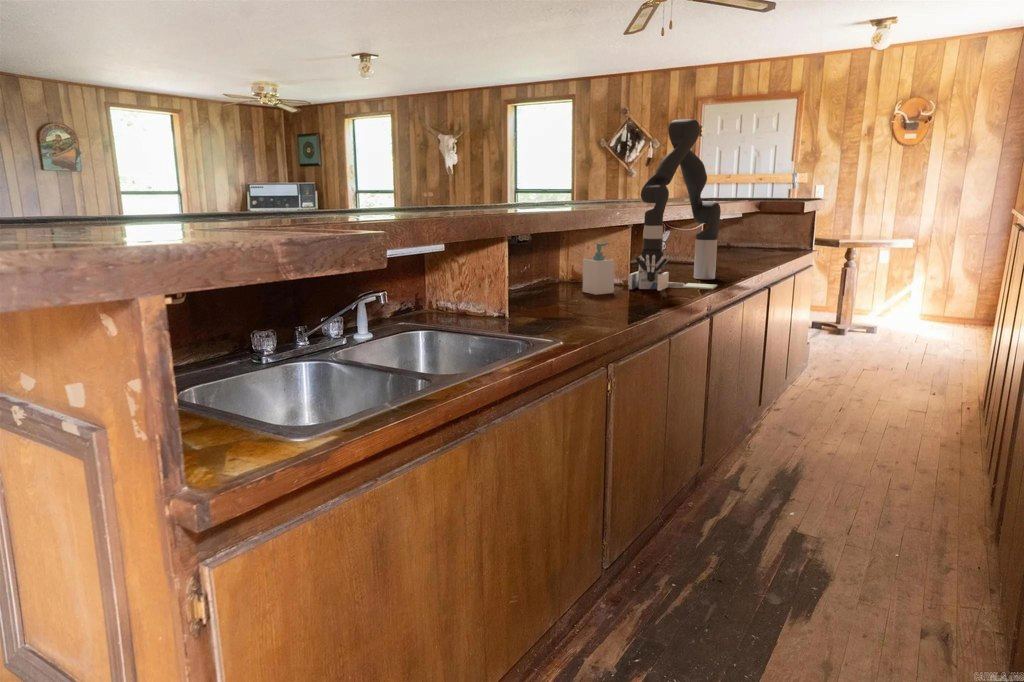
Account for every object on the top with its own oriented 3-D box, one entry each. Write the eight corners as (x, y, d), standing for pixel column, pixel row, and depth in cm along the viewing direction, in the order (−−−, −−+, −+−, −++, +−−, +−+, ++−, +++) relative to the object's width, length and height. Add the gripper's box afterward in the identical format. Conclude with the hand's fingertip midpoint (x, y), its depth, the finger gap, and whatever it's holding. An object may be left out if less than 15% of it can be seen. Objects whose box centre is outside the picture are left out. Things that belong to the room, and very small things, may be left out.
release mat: (687, 284, 286) (688, 283, 286) (717, 286, 281) (717, 284, 280) (682, 287, 277) (682, 286, 277) (712, 289, 272) (712, 287, 272)
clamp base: (638, 285, 284) (638, 270, 283) (684, 287, 276) (684, 273, 275) (628, 289, 273) (628, 274, 271) (675, 292, 264) (676, 277, 263)
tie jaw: (665, 286, 278) (665, 271, 276) (668, 286, 277) (668, 272, 276) (657, 290, 267) (658, 275, 266) (660, 290, 267) (661, 275, 266)
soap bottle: (614, 293, 264) (615, 243, 259) (596, 294, 259) (597, 244, 255) (600, 290, 271) (601, 241, 267) (582, 292, 266) (583, 242, 262)
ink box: (659, 287, 277) (660, 258, 275) (660, 289, 273) (661, 259, 270) (637, 287, 278) (638, 258, 276) (638, 289, 273) (639, 259, 271)
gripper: (672, 237, 266) (670, 281, 270) (639, 236, 272) (637, 279, 276) (667, 238, 259) (665, 283, 263) (633, 237, 265) (631, 281, 269)
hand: (651, 281), depth 269 cm, fingers closed
